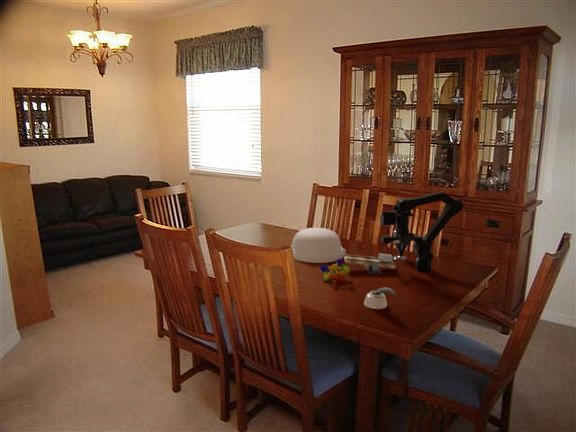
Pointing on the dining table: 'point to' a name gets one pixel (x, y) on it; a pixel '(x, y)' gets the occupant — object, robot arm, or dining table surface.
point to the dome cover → (317, 246)
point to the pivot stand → (373, 268)
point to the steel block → (385, 258)
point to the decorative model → (335, 271)
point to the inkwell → (378, 298)
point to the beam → (366, 261)
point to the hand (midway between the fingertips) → (400, 256)
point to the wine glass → (398, 256)
